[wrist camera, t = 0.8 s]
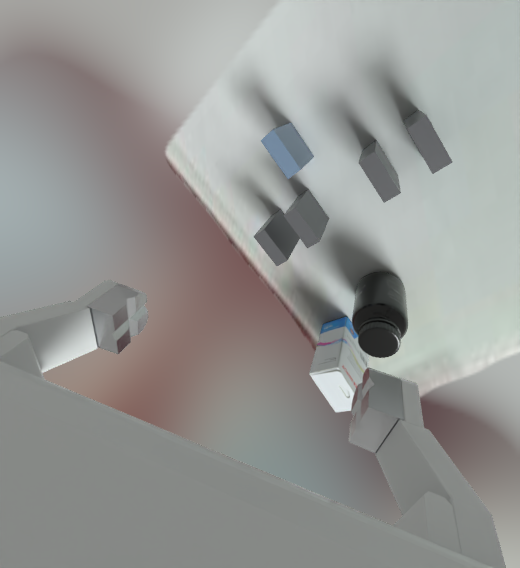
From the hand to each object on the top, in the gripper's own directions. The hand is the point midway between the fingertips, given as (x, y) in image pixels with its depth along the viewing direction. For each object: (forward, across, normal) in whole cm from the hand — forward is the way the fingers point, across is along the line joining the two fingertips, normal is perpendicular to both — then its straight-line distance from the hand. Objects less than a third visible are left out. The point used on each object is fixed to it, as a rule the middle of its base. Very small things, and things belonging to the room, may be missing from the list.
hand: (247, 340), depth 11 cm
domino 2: (+35, +2, +7) cm, 36 cm away
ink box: (+36, -9, +28) cm, 46 cm away
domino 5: (+35, -8, -4) cm, 36 cm away
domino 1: (+35, +6, -1) cm, 36 cm away
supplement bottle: (+36, -11, +17) cm, 41 cm away
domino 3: (+36, +5, +10) cm, 37 cm away
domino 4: (+35, -5, -1) cm, 36 cm away
